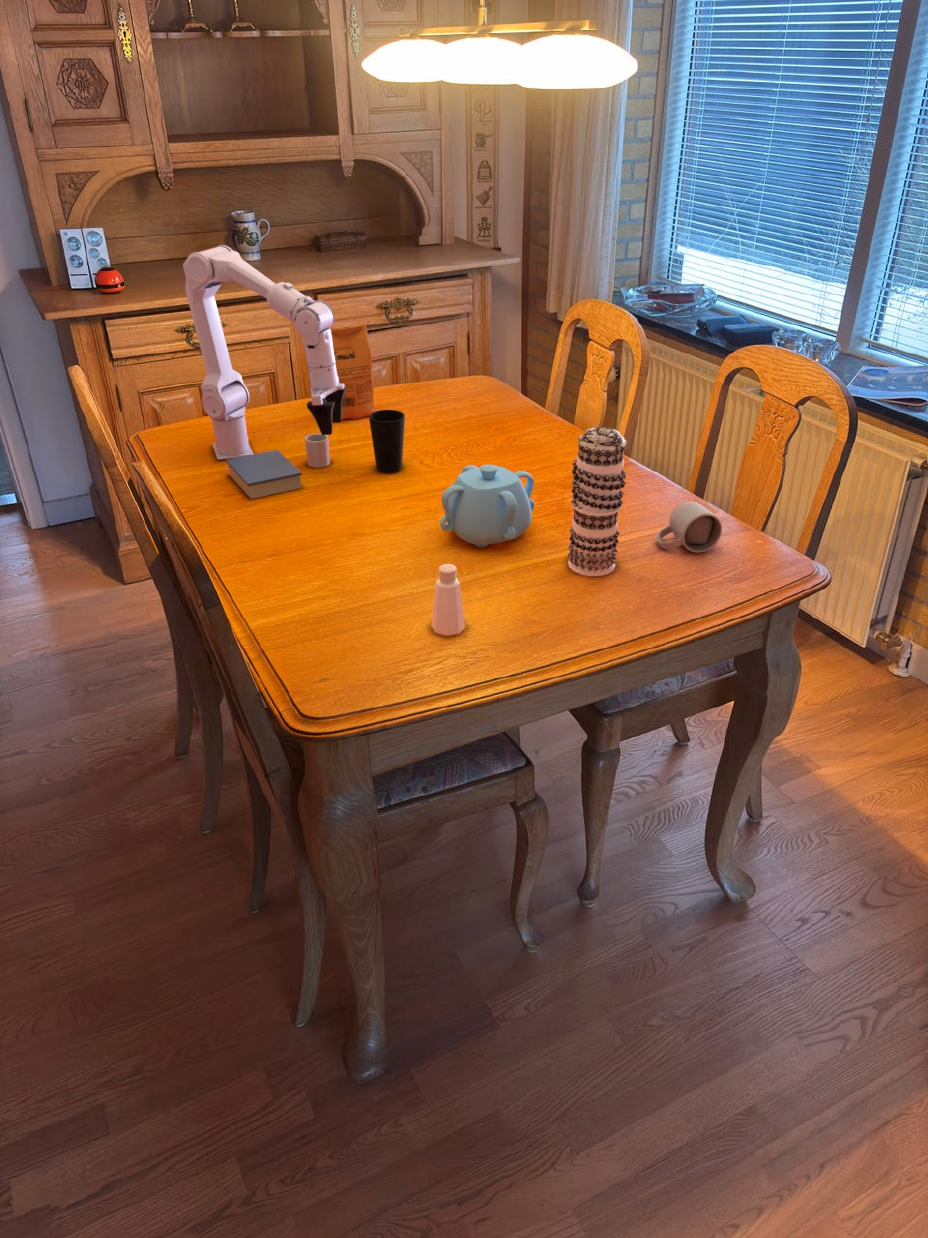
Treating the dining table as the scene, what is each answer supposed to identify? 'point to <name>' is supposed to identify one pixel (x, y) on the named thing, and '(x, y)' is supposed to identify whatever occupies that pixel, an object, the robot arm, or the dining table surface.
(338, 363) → the coffee package
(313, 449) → the white cylindrical tumbler
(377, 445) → the cup
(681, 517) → the ceramic mug
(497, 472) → the decorative pot
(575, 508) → the decorative candle
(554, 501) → the dining table surface
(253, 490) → the blue hardcover book
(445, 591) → the salt shaker
